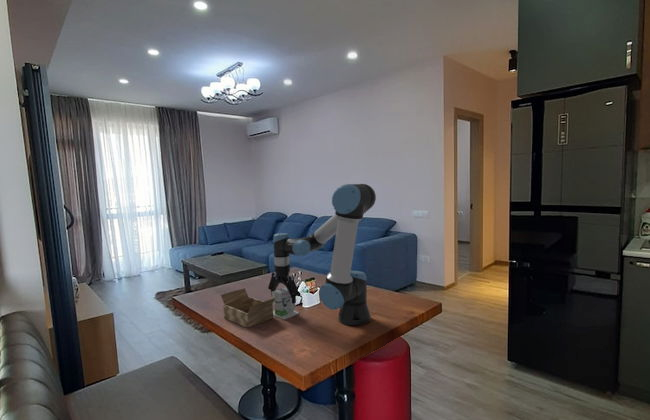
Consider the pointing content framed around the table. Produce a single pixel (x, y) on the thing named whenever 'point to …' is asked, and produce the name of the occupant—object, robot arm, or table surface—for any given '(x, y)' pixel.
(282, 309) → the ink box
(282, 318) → the felt mat
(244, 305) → the carton
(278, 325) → the table surface
